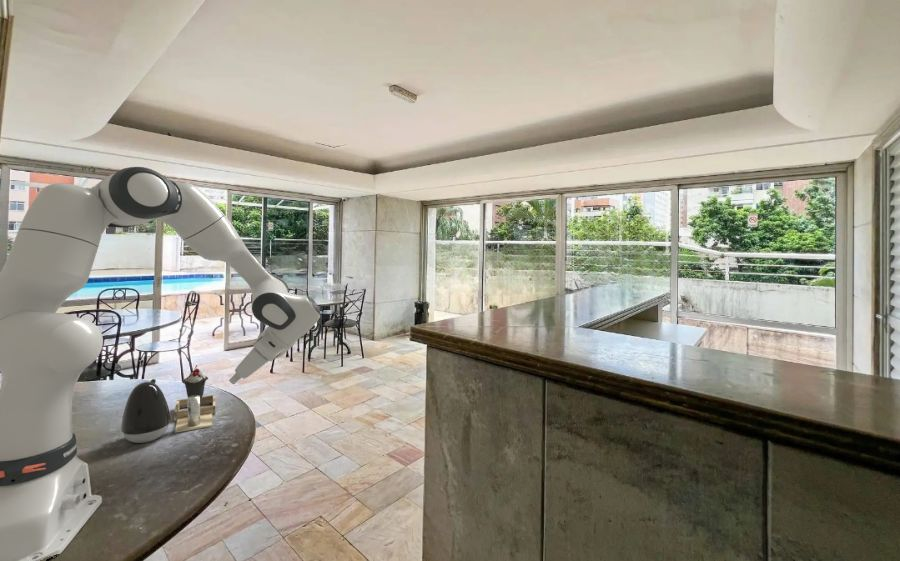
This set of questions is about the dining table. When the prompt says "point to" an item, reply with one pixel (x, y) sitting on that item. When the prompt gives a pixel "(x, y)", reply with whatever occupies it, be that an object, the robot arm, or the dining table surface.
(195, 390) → the sundae
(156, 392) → the pump dispenser
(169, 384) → the dining table surface
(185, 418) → the wooden frame tray
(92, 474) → the dining table surface
